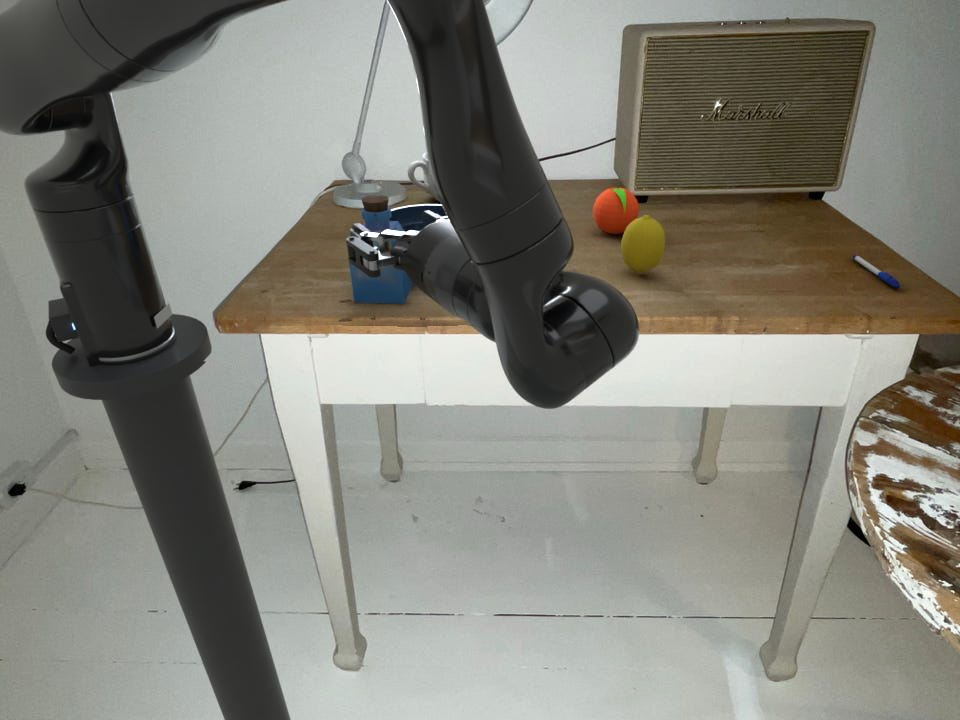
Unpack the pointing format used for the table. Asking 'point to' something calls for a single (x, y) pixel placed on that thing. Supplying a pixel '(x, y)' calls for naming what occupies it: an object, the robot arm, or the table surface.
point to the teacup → (428, 180)
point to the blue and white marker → (878, 272)
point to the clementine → (615, 210)
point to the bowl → (414, 215)
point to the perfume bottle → (392, 281)
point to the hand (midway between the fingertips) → (391, 225)
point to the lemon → (643, 244)
